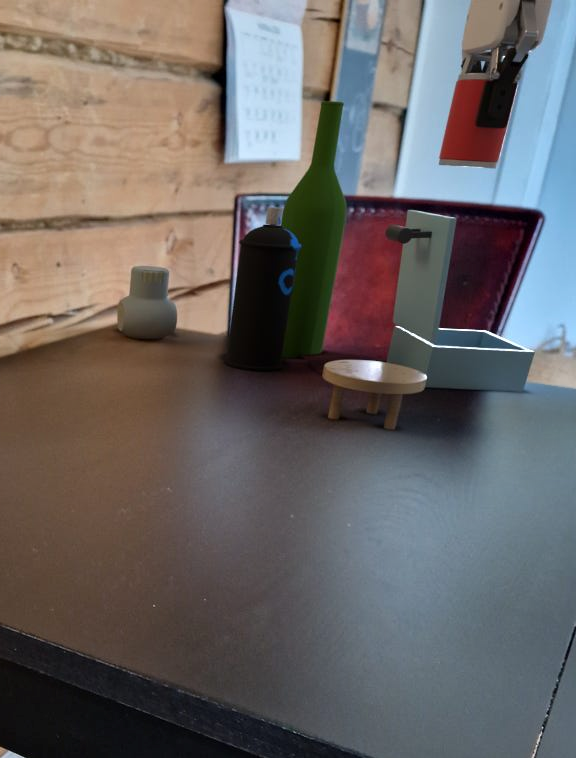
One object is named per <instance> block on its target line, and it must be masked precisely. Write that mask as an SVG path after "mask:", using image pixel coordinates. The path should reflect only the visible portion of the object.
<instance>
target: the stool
mask: <svg viewBox="0 0 576 758" xmlns="http://www.w3.org/2000/svg"><path fill="white" fill-rule="evenodd" d="M321 376H322V378H323V380H324V381H326V382H327V383H330V384H331V385H333V389H332V395H331V400H330V405H329V410H328V415H327V418H329V419H331V420H339V419H340V414H341V410H342V405H343V401H344V400H343V399H344V395H345V390H346V389H348V390H352V391H353V390H354V391H358V392H364V393H369V397H368V402H367V407H366V411H365V412H366V413H367V414H371V415H372V414H373V415H377V414H378V410H379V405H380V401H381V397H382V395H390V396H389V397H390V398H389V402H388V407H387V411H386V415H385V420H384V423H383V424H384V425H383V428H384V429H386V430H395V429H396V426H397V422H398V418H399V413H400V409H401V404H402V401H403V395H413V394H418V393H421V392H423V391H424V390H425V388H426V387H425V385H426V380H427V376H426V375H425V374H424V373H422V372H420V371H418V370H415V369H412V368H409V367H405V366H401V365H396V364H391V363H386V362H384V361H376V360H365V359H338V360H337V359H336V360H332V361H328V362H325V364H324V365H323V369H322V375H321Z"/></svg>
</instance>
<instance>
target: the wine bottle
mask: <svg viewBox="0 0 576 758" xmlns="http://www.w3.org/2000/svg"><path fill="white" fill-rule="evenodd" d="M344 106H345V103H344V102H343V101H331V100H324V101H321V103H320V111H319V115H318V121H317V128H316V134H315V138H314V139H315V140H314V145H313V151H312V155H311V156H312V157H311V163H310V165H309V167H308V169H307V171H306V172H305V173H304V174H303V176H302V177H301V178H300V181H299V182H298V183H297V184H296V186H295V187H294V189H292V191H291V193H290V194H289V195H288V197H287V198H286V201H285V203H284V207H283V208H282V209H283V211H282V214H281V224H280V226H282V228H284V229H286V230H288V231H290V232H291V233H293V234H294V235H295V237H296V238H297V240H298V243H299V244H301V248H300V249H299V252H298V258H297V264H296V271H295V277H294V283H293V290H292V296H291V302H290V309H289V315H288V321H287V328H286V334H285V340H284V347H283V353H282V358H285V359H297V360H305V357H304V356H302V355H318V354H322V352H323V349H324V343H325V338H326V332H327V327H328V322H329V316H330V310H331V305H332V299H333V293H334V289H335V288H334V287H335V282H336V276H337V273H338V272H337V270H338V266H339V261H340V255H341V248H342V244H343V238H344V232H345V226H346V222H347V216H348V215H347V214H348V213H347V211H348V210H347V209H348V207H347V200H346V198H345V194H344V192H343V190H342V186H341V184H340V181H339V179H338V175H337V172H336V167H335V163H336V156H337V148H338V142H339V136H340V130H341V124H342V116H343V111H344Z"/></svg>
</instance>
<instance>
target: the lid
mask: <svg viewBox="0 0 576 758" xmlns="http://www.w3.org/2000/svg"><path fill="white" fill-rule="evenodd" d="M406 214H407V215H406V219H405V220H406V221H405V226H401V225H398V224H391V225H388V226H387V228H386V229H385V238H386V239H387V240H389V241H392V242H396V243H398V244H399V243H400V244H402V250H401V256H400V265H399V270H398V271H399V272H398V278H397V279H398V280H397V288H396V293H395V294H396V295H395V301H394V302H395V303H394V308H393V316H392V324H394V325H395V326H400V327H402V328H404V329H406V330H407V331H409V332H411V333H413V334H415V335H417V336H419V337H421V338H422V339H424V340H426V341H428V342H430V343H436V342H437V336H438V330H439V328H440V324H441V323H440V322H441V317H442V311H443V306H444V298H445V292H446V287H447V281H448V273H449V267H450V261H451V256H452V250H453V245H454V237H455V232H456V231H455V230H456V226H457V225H456V224H457V217H453V216H448V215H442V214H438V213H432V212H426V211H421V210H416V209H408V210H407V213H406Z"/></svg>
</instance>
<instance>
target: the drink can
mask: <svg viewBox="0 0 576 758" xmlns="http://www.w3.org/2000/svg"><path fill="white" fill-rule="evenodd" d="M485 81H491V80H490V73H465V74H461V73H459V75H458V77H457V80H456V82H455V85H454V90H453V95H452V98H451V103H450V108H449V112H448V117H447V120H446V125H445V130H444V134H443V137H442V138H443V139H442V143H441V147H440V153H439V157H438V159H439V161H438V166H447V167H448V166H449V167H463V168H479V169H496V168H497V166H498V163H499V161H500V158H501V153H502V151H503V146H504V142H505V139H506V136H507V135H506V134H507V130H508V127H509V123H510V118H511V115H512V111H513V107H514V103H515V100H516V95H517V91H518V88H519V82H517V83H518V84H517V88H516V92H515V96H514V100H513V104H512V107H511V111H510V115H509V119H508V123H507V126H506V127H505V128H487V127H477V126H476V125H475V121H476V117H477V113H478V109H479V105H480V100H481V96H482V92H483V88H484V84H485ZM513 83H516V82H513Z"/></svg>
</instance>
